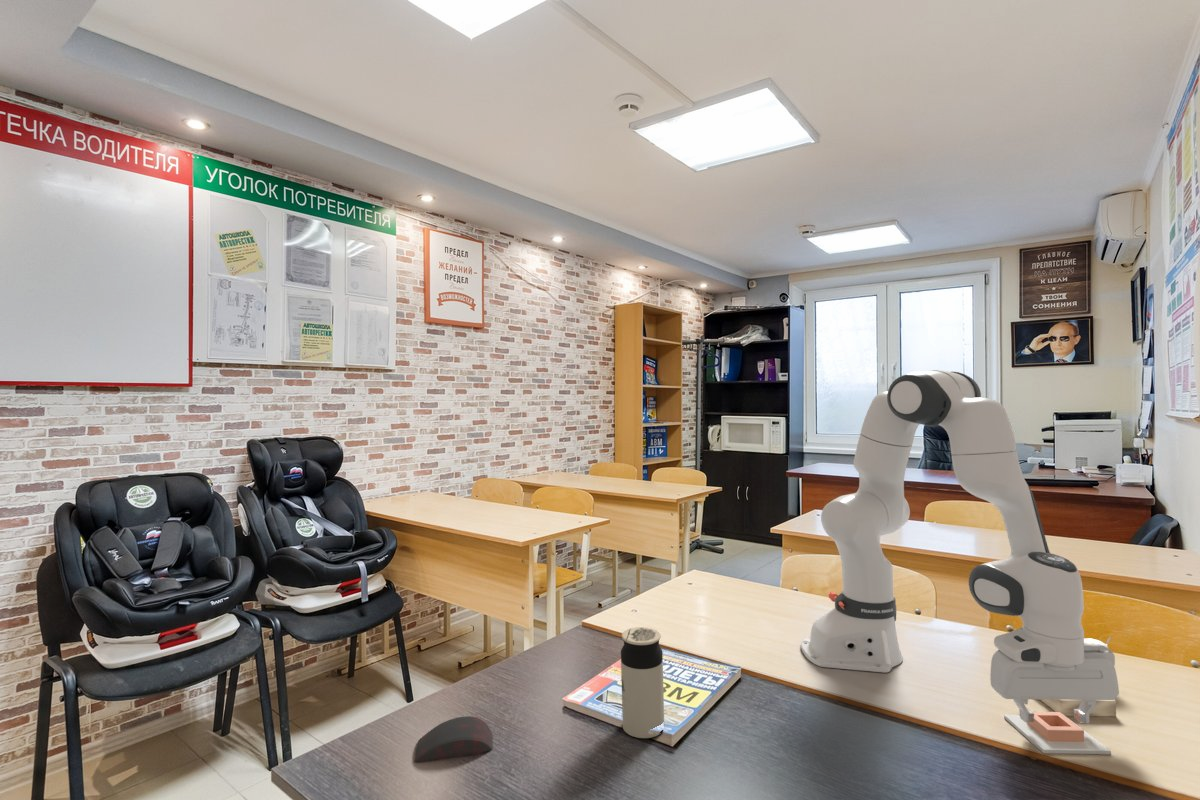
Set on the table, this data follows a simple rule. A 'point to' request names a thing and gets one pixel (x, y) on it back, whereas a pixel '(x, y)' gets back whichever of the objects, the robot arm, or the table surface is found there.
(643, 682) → the travel mug
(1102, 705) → the peg stand
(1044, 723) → the pink rectangular frame
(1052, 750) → the mat
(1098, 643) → the milkshake
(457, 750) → the computer mouse
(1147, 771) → the table surface
